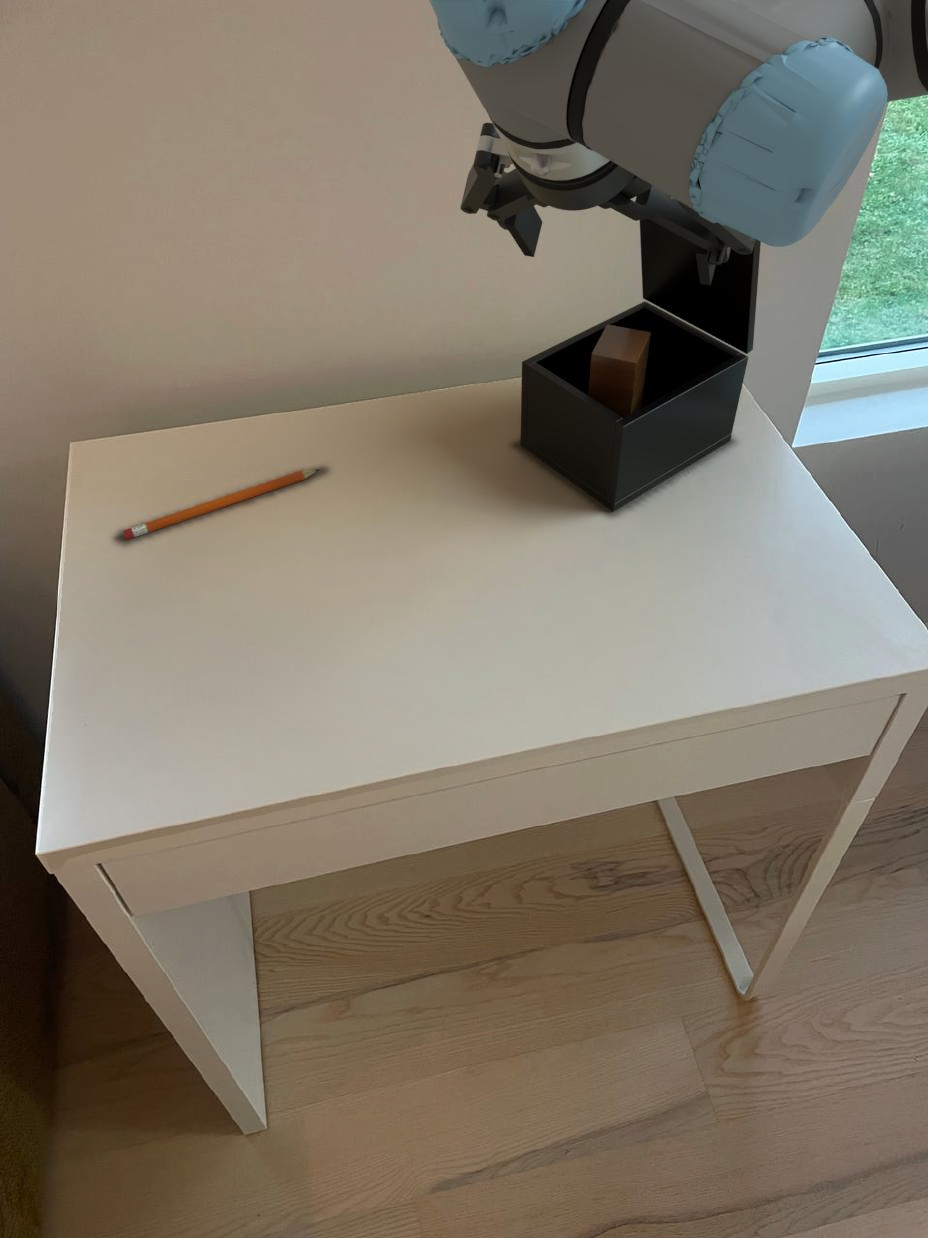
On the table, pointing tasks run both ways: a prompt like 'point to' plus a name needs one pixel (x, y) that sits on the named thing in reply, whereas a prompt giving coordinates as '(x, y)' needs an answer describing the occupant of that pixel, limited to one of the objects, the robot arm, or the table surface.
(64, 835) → the table surface
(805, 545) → the table surface
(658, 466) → the black box
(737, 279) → the box lid
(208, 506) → the pencil
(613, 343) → the tall brown wooden bar
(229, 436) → the table surface
